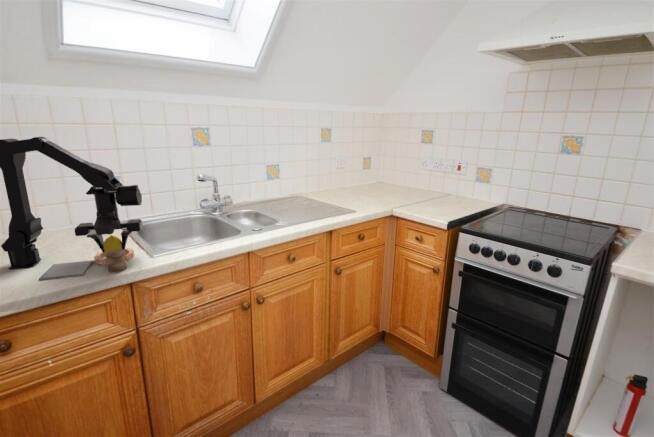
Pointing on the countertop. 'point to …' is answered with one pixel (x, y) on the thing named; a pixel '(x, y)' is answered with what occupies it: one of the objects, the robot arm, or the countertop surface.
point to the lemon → (112, 243)
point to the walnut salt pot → (116, 260)
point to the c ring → (101, 260)
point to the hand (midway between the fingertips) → (114, 251)
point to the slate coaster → (66, 270)
